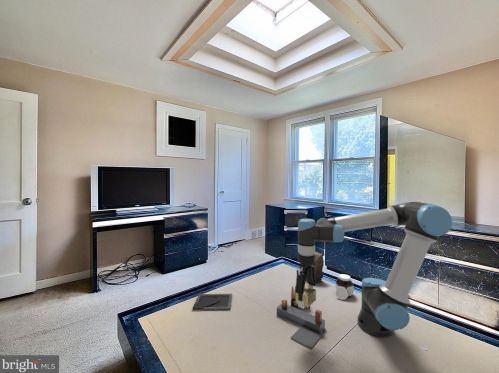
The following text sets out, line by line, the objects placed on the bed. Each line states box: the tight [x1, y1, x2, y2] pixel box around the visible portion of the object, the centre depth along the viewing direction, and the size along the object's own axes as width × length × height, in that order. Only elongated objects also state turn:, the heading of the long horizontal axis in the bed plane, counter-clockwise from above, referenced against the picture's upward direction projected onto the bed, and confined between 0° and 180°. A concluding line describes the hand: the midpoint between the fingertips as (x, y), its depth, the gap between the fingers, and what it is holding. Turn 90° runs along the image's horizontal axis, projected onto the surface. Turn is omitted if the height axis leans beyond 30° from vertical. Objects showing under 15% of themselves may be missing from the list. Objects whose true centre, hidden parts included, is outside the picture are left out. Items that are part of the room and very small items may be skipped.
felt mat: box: [290, 326, 322, 350], centre depth 103 cm, size 10×10×1 cm
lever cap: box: [296, 285, 317, 307], centre depth 103 cm, size 6×8×6 cm
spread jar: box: [335, 273, 355, 301], centre depth 140 cm, size 12×11×12 cm
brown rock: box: [304, 251, 325, 284], centre depth 162 cm, size 13×13×20 cm
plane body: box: [276, 299, 326, 335], centre depth 115 cm, size 24×6×9 cm, turn 49°
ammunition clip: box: [290, 285, 311, 309], centre depth 128 cm, size 11×2×12 cm, turn 89°
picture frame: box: [192, 293, 233, 311], centre depth 133 cm, size 16×2×21 cm
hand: (305, 303), depth 103 cm, fingers closed on lever cap, 8 cm apart
